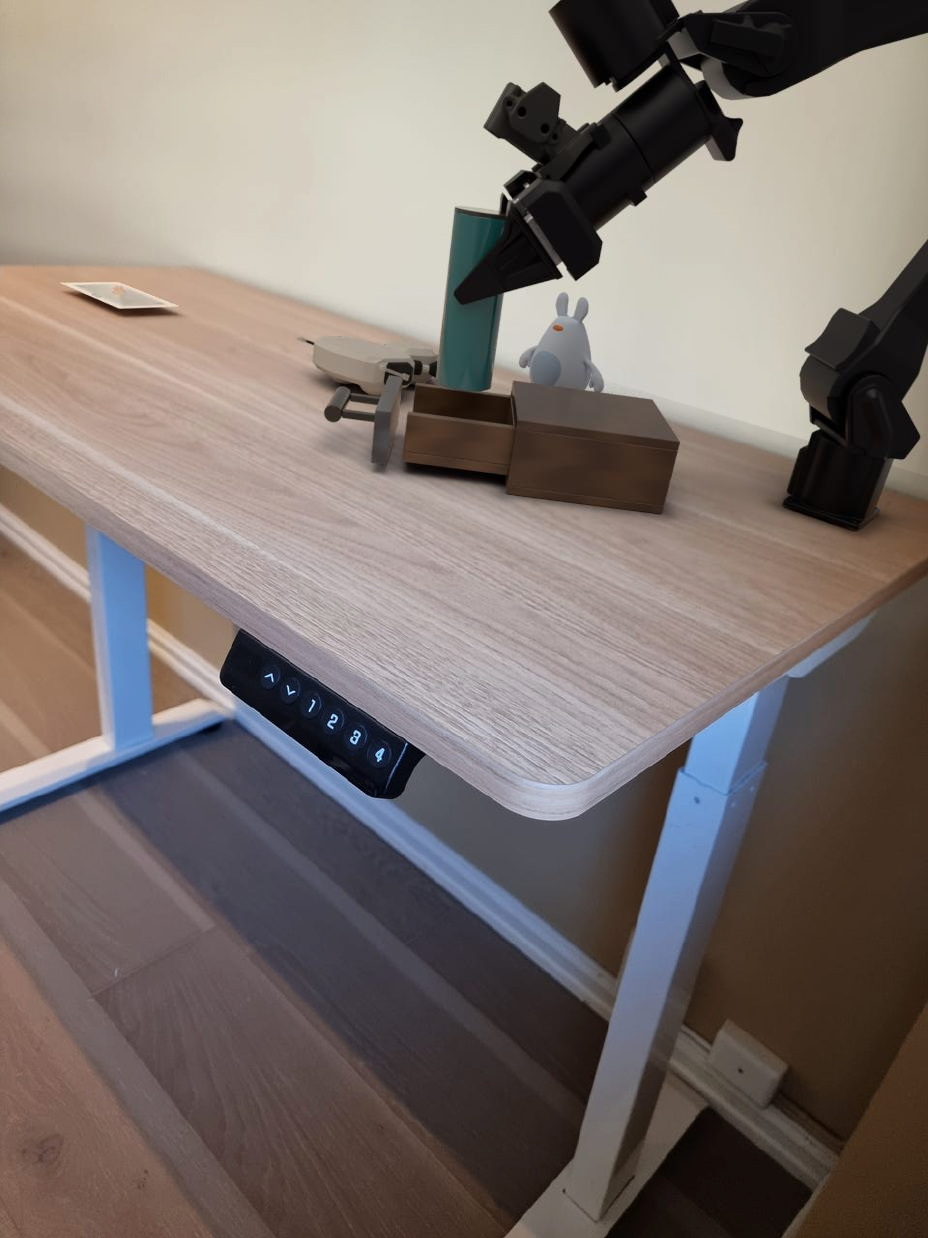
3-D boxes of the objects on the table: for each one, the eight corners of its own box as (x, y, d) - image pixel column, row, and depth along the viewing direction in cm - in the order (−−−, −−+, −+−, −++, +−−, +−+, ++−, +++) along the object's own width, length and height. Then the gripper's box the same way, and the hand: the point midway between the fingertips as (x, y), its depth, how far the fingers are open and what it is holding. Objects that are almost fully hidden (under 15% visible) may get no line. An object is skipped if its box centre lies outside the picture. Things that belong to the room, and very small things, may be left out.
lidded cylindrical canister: (496, 393, 68) (522, 217, 63) (441, 389, 67) (461, 209, 61) (483, 378, 72) (506, 210, 66) (430, 374, 71) (449, 203, 65)
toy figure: (493, 406, 91) (511, 283, 86) (531, 400, 95) (550, 283, 90) (574, 436, 85) (600, 307, 80) (611, 428, 90) (637, 305, 84)
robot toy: (391, 372, 101) (288, 374, 90) (397, 332, 100) (292, 329, 89) (472, 401, 95) (371, 407, 84) (480, 358, 93) (378, 359, 82)
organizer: (505, 493, 69) (517, 419, 66) (502, 445, 80) (512, 380, 77) (662, 514, 70) (680, 441, 67) (637, 463, 80) (652, 399, 78)
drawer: (316, 455, 68) (319, 402, 66) (337, 416, 78) (340, 368, 76) (516, 482, 69) (524, 429, 67) (511, 439, 79) (519, 392, 77)
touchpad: (119, 290, 118) (118, 273, 117) (179, 315, 110) (179, 297, 108) (60, 291, 113) (59, 273, 112) (119, 317, 104) (118, 298, 103)
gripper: (550, 52, 67) (392, 192, 72) (586, 26, 51) (378, 210, 55) (629, 181, 72) (476, 306, 76) (686, 196, 55) (486, 354, 60)
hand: (456, 293), depth 67 cm, fingers closed on lidded cylindrical canister, 4 cm apart
